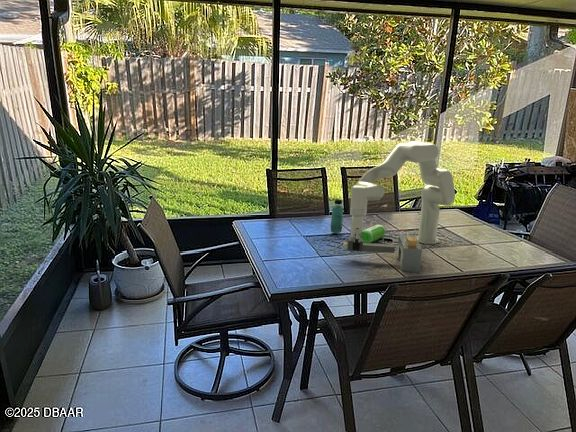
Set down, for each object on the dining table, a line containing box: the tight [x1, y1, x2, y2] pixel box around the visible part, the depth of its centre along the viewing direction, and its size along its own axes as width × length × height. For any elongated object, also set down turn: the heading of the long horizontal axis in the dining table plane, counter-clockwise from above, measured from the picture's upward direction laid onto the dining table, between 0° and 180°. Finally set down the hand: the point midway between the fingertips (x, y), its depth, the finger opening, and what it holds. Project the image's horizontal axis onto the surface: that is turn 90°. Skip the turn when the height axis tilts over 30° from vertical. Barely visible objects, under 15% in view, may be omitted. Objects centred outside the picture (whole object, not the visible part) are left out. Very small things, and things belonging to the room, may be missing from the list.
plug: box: [342, 236, 396, 254], centre depth 201 cm, size 5×24×5 cm, turn 82°
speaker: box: [360, 224, 386, 243], centre depth 231 cm, size 18×7×8 cm, turn 140°
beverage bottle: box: [330, 198, 344, 234], centre depth 237 cm, size 6×7×20 cm
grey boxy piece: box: [396, 234, 423, 273], centre depth 199 cm, size 20×8×14 cm, turn 172°
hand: (355, 247), depth 202 cm, fingers closed on plug, 5 cm apart
